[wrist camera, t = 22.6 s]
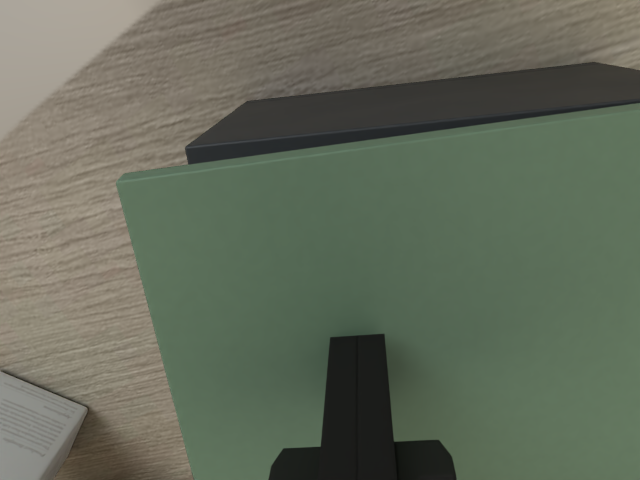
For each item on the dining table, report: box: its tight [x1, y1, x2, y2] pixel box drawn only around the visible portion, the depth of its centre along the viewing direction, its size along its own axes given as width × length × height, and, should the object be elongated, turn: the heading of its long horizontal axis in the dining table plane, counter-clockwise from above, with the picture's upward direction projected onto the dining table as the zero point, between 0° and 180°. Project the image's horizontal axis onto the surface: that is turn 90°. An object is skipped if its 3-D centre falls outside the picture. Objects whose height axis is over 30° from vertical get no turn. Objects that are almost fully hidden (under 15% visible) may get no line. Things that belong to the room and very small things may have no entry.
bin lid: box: [116, 103, 640, 480], centre depth 16 cm, size 16×13×1 cm
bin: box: [185, 62, 640, 165], centre depth 22 cm, size 16×13×10 cm
